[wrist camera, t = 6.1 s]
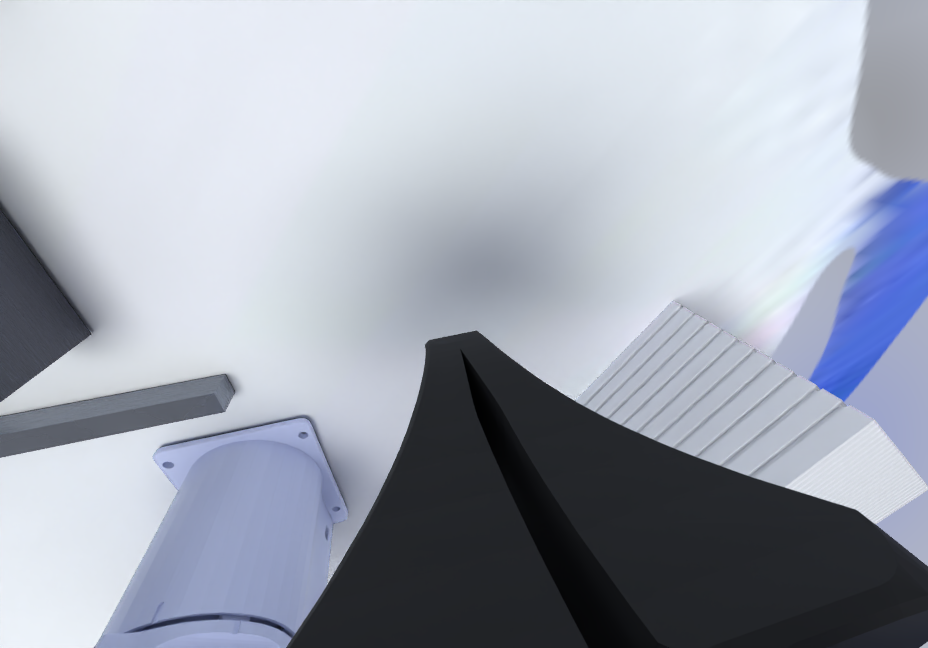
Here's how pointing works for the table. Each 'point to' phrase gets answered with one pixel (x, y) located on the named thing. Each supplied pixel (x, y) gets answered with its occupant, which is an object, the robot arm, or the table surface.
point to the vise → (113, 414)
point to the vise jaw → (30, 315)
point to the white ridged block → (750, 416)
